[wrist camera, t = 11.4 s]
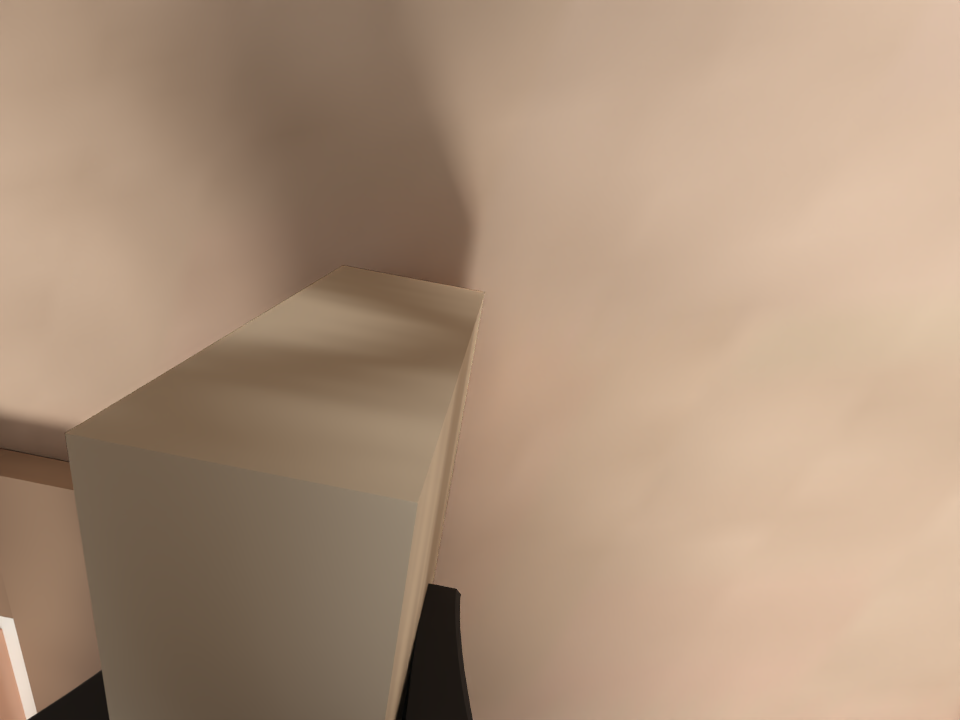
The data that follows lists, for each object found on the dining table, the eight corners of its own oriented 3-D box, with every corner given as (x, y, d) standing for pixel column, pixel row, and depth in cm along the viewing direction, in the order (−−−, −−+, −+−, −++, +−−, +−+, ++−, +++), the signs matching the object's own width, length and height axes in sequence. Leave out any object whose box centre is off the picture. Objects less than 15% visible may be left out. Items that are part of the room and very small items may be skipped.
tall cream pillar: (484, 291, 11) (417, 503, 4) (414, 684, 15) (330, 1075, 9) (343, 265, 11) (64, 433, 4) (315, 663, 15) (158, 1036, 9)
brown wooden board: (233, 494, 15) (213, 518, 14) (240, 844, 22) (228, 875, 21) (-277, 393, 15) (-330, 409, 14) (-107, 771, 22) (-135, 798, 21)
